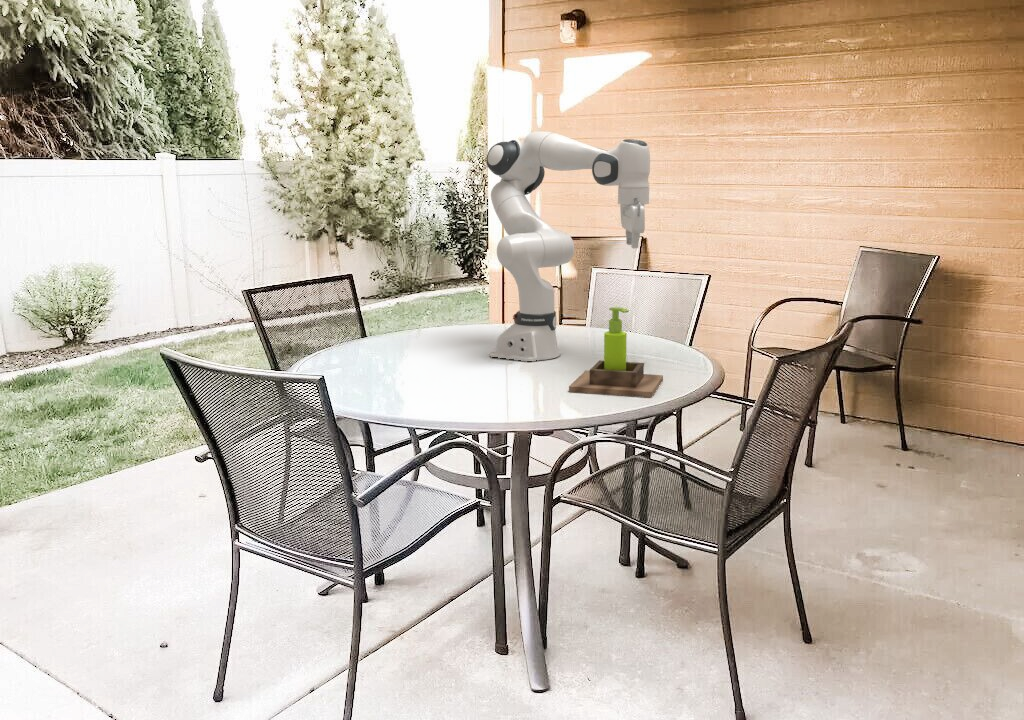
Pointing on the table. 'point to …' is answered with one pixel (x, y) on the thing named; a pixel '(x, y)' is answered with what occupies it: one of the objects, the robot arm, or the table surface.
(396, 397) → the table surface
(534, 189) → the robot arm
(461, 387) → the table surface
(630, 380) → the caddy
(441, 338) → the table surface
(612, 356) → the soap dispenser
